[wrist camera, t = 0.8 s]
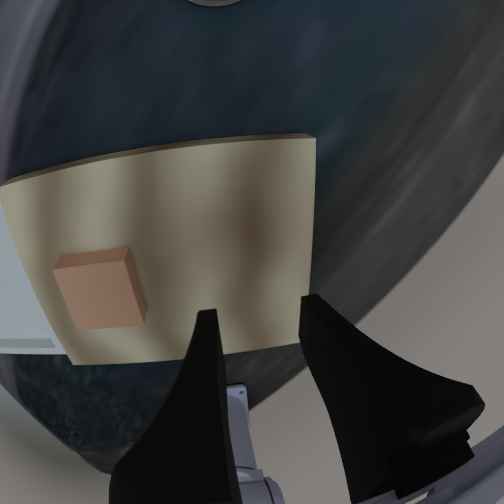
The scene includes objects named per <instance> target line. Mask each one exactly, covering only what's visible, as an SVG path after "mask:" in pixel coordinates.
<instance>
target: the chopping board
mask: <svg viewBox="0 0 504 504" xmlns="http://www.w3.org/2000/svg"><path fill="white" fill-rule="evenodd" d="M315 161H316V138H314V137H312V136H310V135H308V134H305V133H290V134H266V135H249V136H235V137H224V138H213V139H203V140H194V141H186V142H178V143H171V144H164V145H157V146H150V147H144V148H138V149H132V150H126V151H121V152H116V153H110V154H105V155H100V156H96V157H91V158H86V159H82V160H77V161H73V162H69V163H65V164H61V165H57V166H53V167H49V168H45V169H41V170H38V171H34V172H31V173H27V174H24V175H20V176H17V177H14V178H11V179H9V180H8V181H6V182H5V183H3V184H2V185H0V201H1V204H2V208H3V211H4V214H5V217H6V221H7V224H8V227H9V230H10V233H11V236H12V238H13V241H14V244H15V247H16V249H17V252H18V255H19V257H20V260H21V262H22V265H23V267H24V270H25V272H26V274H27V277H28V279H29V281H30V284H31V286H32V288H33V290H34V293H35V295H36V297H37V299H38V301H39V303H40V305H41V307H42V309H43V311H44V313H45V315H46V317H47V319H48V321H49V323H50V325H51V327H52V329H53V331H54V332H55V334H56V336H57V338H58V340H59V341H60V343H61V345H62V347H63V348H64V350H65V352H66V354H67V355H68V357H69V359H70V360H71V362H72V363H73V365H94V364H121V363H139V362H154V361H166V360H177V359H184V357H185V355H186V352H187V349H188V346H189V343H190V340H191V337H192V334H193V330H194V327H195V322H196V317H197V313H198V311H199V310H206V309H215V308H217V315H218V322H219V328H220V335H221V341H222V347H223V354H230V353H237V352H244V351H251V350H258V349H264V348H270V347H276V346H282V345H288V344H293V343H299V342H300V340H299V337H298V331H299V318H300V304H301V296H306V295H308V294H309V282H310V268H311V254H312V237H313V218H314V195H315ZM123 247H129V249H130V253H131V257H132V260H133V264H134V268H135V272H136V275H137V279H138V282H139V286H140V289H141V292H142V296H143V299H144V302H145V306H146V309H147V311H146V318H145V325H141V326H129V327H117V328H103V329H88V330H78V328H77V326H76V324H75V321H74V319H73V317H72V315H71V313H70V311H69V309H68V307H67V304H66V302H65V300H64V298H63V295H62V293H61V291H60V288H59V286H58V283H57V281H56V279H55V276H54V274H53V271H52V269H53V267H54V265H55V264H56V262H57V261H58V259H59V257H60V256H65V255H72V254H79V253H86V252H94V251H101V250H108V249H115V248H123Z"/></svg>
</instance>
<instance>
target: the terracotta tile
mask: <svg viewBox="0 0 504 504" xmlns="http://www.w3.org/2000/svg"><path fill="white" fill-rule="evenodd" d="M52 271H53V274H54V276H55V279H56V281H57V283H58V286H59V288H60V291H61V293H62V295H63V298H64V300H65V302H66V304H67V307H68V309H69V311H70V313H71V315H72V317H73V319H74V321H75V324H76V326H77V328H78V330H88V329H103V328H117V327H129V326H141V325H145V318H146V311H147V309H146V306H145V302H144V299H143V296H142V292H141V289H140V286H139V282H138V279H137V275H136V272H135V268H134V264H133V260H132V257H131V253H130V249H129V247H123V248H115V249H108V250H101V251H94V252H86V253H79V254H72V255H65V256H60V257H59V259H58V261H57V262H56V264H55V265H54V267H53V269H52Z"/></svg>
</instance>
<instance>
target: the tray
mask: <svg viewBox="0 0 504 504" xmlns="http://www.w3.org/2000/svg"><path fill="white" fill-rule="evenodd" d="M0 353H11V354H66V352H65V350H64V348H63V347H62V345H61V343H60V341H59V340H58V338H57V336H56V334H55V332H54V331H53V329H52V327H51V325H50V323H49V321H48V319H47V317H46V315H45V313H44V311H43V309H42V307H41V305H40V303H39V301H38V299H37V297H36V295H35V293H34V290H33V288H32V286H31V284H30V281H29V279H28V277H27V274H26V272H25V270H24V267H23V265H22V262H21V260H20V257H19V255H18V252H17V249H16V247H15V244H14V241H13V238H12V236H11V233H10V230H9V227H8V224H7V221H6V217H5V214H4V211H3V208H2V204H1V201H0Z"/></svg>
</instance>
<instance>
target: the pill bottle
mask: <svg viewBox="0 0 504 504" xmlns="http://www.w3.org/2000/svg"><path fill="white" fill-rule="evenodd" d="M188 1H190V2H193V3H196V4H199V5H204V6H224V5H229V4H233V3H236V2H238V1H240V0H188Z"/></svg>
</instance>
